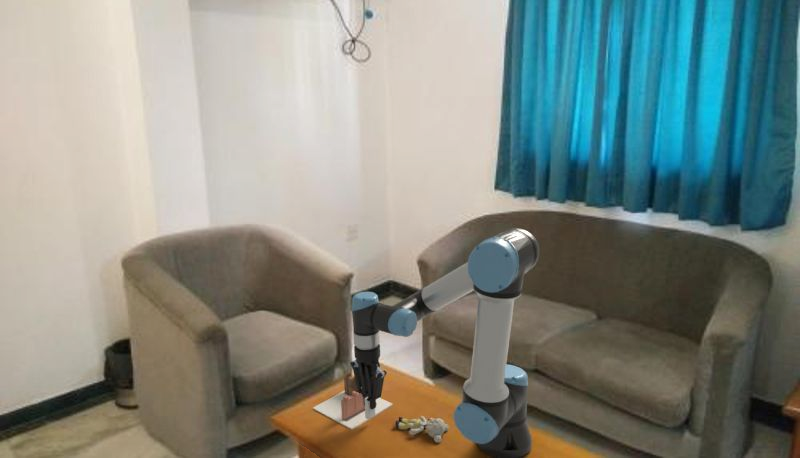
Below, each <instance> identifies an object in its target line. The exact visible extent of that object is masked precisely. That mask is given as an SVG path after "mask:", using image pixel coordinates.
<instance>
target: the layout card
mask: <svg viewBox="0 0 800 458" xmlns="http://www.w3.org/2000/svg"><path fill="white" fill-rule="evenodd" d="M345 395H346V396H348V397H349V396H351V395H349V394H347V393H345V390H343V391H341V392H340V393H337V394H335V395H333V396H332V397H330V398H328V399H326V400H324V401H323V402H321V403H319V404H316V405H315V406H313V407H312V410H314V411H316V412H319V413H320V414H322V415H323V416H325V417H327V418H328V419H331V420H333V421H335V422H337V423H339V424H340V425H342V426H344V427H346V428H348V429H349V430H354V429H356V428H358V427H360V426H361V425H363V424H364V423H366V422H368V421H370V419H367V418H365V409H363V410H361V411H360V412H358V413H356V414H354V415H352V416H350V417H349V418H347V419H345V420H344V419H342V411H341V400H343V399H344V398H343V396H345ZM393 405H394V404H393V403H392V402H390V401H388V400H385V399H383V398H381V397H380V398H378V399H376V408H375V416H374V417H376V416H377V415H379V414H381V413H382V412H384V411H386V410H387V409H389V408H390V407H392V406H393Z"/></svg>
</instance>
